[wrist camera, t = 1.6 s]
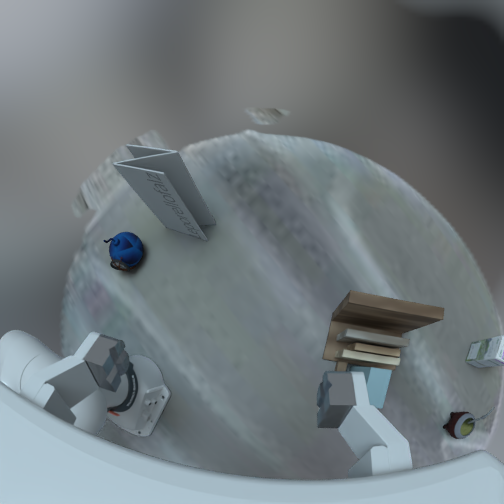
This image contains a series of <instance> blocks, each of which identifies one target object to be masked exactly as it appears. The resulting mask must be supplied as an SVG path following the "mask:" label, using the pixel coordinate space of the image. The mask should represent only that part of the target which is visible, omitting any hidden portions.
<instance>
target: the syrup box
mask: <svg viewBox="0 0 504 504" xmlns="http://www.w3.org/2000/svg"><path fill="white" fill-rule="evenodd" d="M466 362H467V363H469V364H471V365H473V366H475V367H477V368H482V367H492V366H504V336H503V335H501V336H497V337H494V338H489V339H485V340H481V341H477V342H472V344H471V347H470V350H469V353H468V356H467V359H466Z"/></svg>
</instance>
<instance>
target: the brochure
mask: <svg viewBox="0 0 504 504" xmlns="http://www.w3.org/2000/svg"><path fill="white" fill-rule="evenodd" d="M126 146H127V148H128V149H129V151H130V152H131V153H132V155H133V156H134V158H135V159H130V160H125V161H121V162H116V163H113V165H114V166H115V168H116V169H117V170H118V171H119V173H120V174H121V175H122V176H123V177H124V179H125V180H126V181H127V182H128V184H129V185H130V186H131V187H132V188H133V190H134V191H135V192H136V193H137V194H138V195H139V197H140V198H141V199H142V200H143V201H144V203H145V204H146V205H147V206H148V207H149V208H150V210H151V211H152V212H153V213H154V214H155V215H156V216H157V218H158V219H159V220H160V221H161V222H162V223H163V225H164V226H165V227H166V228H169V229H172V230H175V231H178V232H181V233H184V234H187V235H190V236H193V237H196V238H200V239H203V240H206V241H208V239H207V237H206V236H205V234H204V233H203V231H202V230H201V229H200V227H199V226H200V225H216V222H215V220H214V218H213V217H212V215H211V213H210V211H209V209H208V207H207V205H206V203H205V202H204V200H203V198H202V196H201V194H200V192H199V190H198V189H197V187H196V185H195V183H194V181H193V179H192V177H191V175H190V173H189V172H188V170H187V168H186V166H185V164H184V162H183V160H182V158H181V156H180V154H179V153H178V151H173V150H166V149H159V148H152V147H144V146H136V145H126Z"/></svg>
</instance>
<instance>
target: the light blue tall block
mask: <svg viewBox="0 0 504 504" xmlns="http://www.w3.org/2000/svg"><path fill="white" fill-rule="evenodd" d="M350 372H363V373H364V376H365V381H366V386H367V391H368V396H369V402H370V405H374V406H375V407H376V408H382V407H383V404H384V400H385V396H386V393H387V389H388V384H389V380H390V376H391V372H392V370H387V369H380V368H373V367H358V366H351V367H350Z"/></svg>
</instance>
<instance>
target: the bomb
mask: <svg viewBox="0 0 504 504" xmlns="http://www.w3.org/2000/svg"><path fill="white" fill-rule="evenodd" d="M111 240H112V241H111ZM109 241H111V243H110V246H109V253H110V257H111V259H112V261H111V263H110V265H111V267H112V268H114V269H117V270H123V271H130V270H131V269H133V268H134V267H135V266H136V264H137V263H138V262H139V261H140V259H141V257H142V255H143V245H142V242H141V240H140V239H139V238H138V236H136V235H135V234H133V233H130V232H122V233H119V234H117V235H116V236H115V237H114V238H110V239H109V240H108V241H106V240H104V242H105V243H108V242H109ZM132 266H133V267H132ZM130 267H132V268H130Z"/></svg>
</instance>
